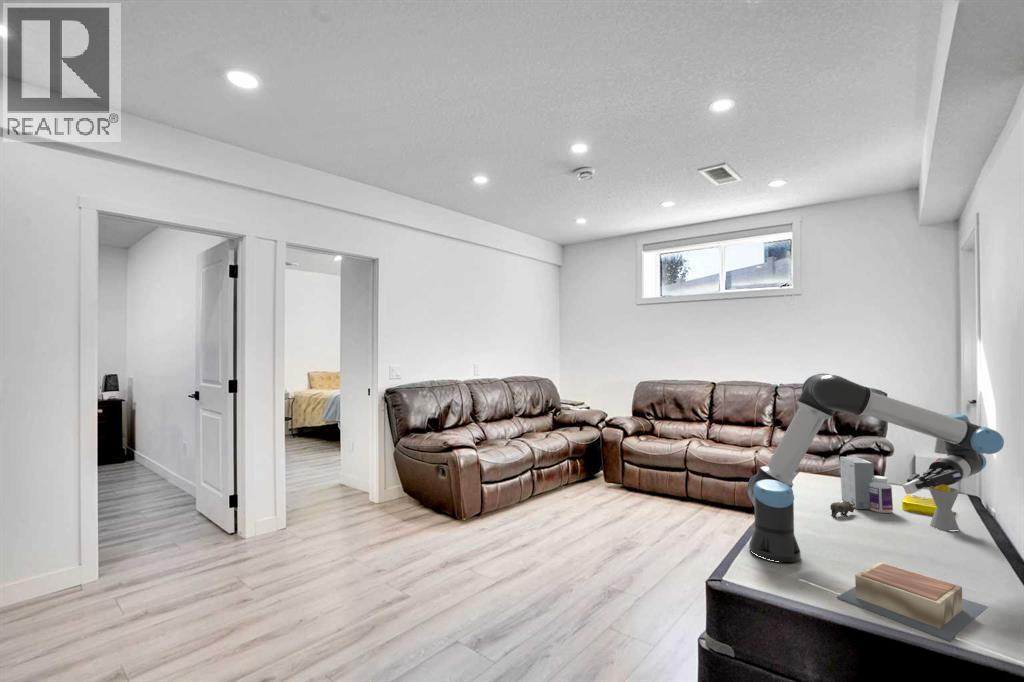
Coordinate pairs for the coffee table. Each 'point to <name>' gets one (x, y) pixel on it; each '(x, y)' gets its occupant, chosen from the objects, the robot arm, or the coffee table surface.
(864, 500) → the hard drive box
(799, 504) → the coffee table surface
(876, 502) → the pill bottle
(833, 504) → the bison figurine
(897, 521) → the coffee table surface
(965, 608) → the slate mat
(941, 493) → the lava lamp
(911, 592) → the birch slab
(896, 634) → the coffee table surface
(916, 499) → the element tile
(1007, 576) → the coffee table surface
